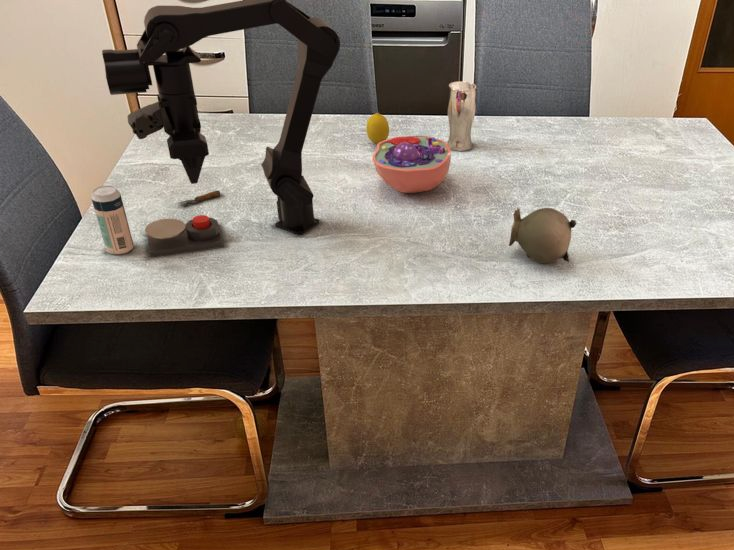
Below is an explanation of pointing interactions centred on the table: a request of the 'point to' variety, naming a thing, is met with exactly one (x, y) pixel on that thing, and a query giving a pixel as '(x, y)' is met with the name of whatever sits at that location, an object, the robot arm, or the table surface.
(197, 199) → the can opener
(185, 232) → the warmer
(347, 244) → the table surface
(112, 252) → the beer can
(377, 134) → the lemon
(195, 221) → the button
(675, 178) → the table surface
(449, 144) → the cream vase
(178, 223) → the warming plate
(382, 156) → the cell model
